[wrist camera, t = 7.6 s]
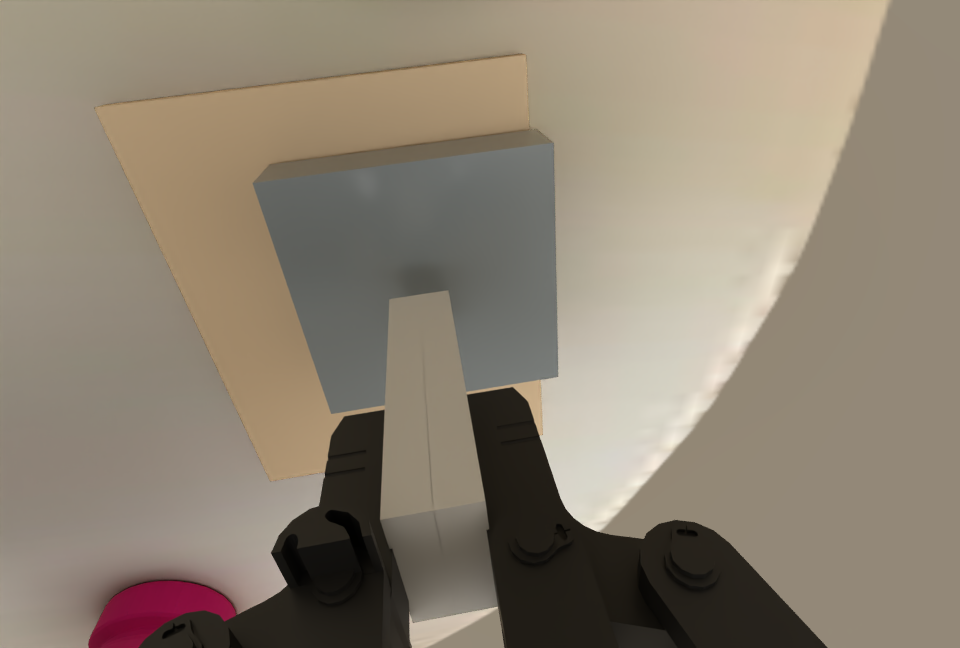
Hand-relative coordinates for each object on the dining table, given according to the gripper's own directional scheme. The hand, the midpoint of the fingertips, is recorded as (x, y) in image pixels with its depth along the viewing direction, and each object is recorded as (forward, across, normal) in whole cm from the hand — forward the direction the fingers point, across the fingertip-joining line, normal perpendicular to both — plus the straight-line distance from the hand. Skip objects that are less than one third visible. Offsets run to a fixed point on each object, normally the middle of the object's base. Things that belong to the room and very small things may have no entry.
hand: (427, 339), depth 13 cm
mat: (+5, -2, -2) cm, 6 cm away
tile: (+4, -4, 0) cm, 5 cm away
